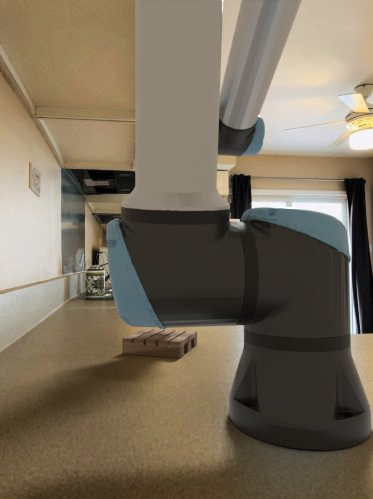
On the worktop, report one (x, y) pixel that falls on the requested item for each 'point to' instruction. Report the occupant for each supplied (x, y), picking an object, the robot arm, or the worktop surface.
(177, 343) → the pallet dock
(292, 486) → the worktop surface
